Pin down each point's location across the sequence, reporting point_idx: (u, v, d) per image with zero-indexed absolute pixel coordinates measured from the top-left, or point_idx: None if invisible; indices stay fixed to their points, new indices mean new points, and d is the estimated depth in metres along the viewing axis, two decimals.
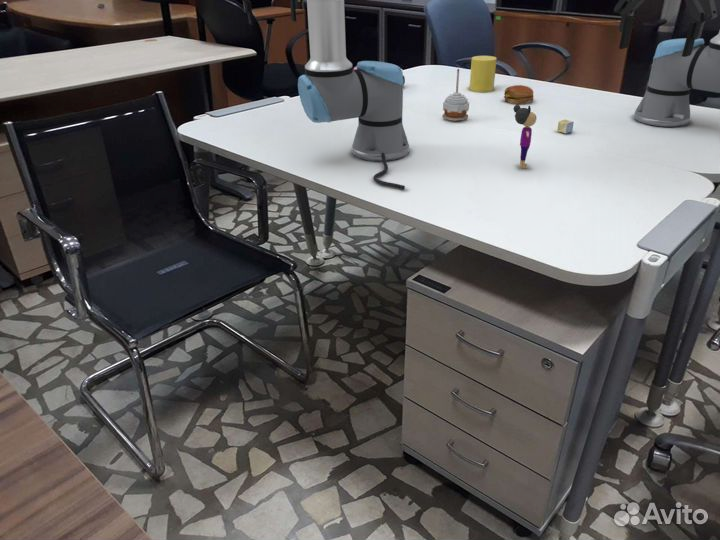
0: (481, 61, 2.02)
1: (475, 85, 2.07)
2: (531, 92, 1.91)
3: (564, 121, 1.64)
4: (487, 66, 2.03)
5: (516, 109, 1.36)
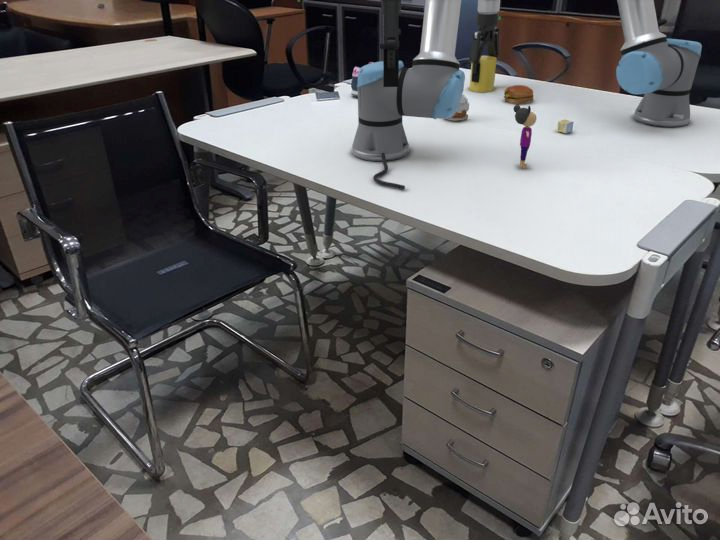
0: (481, 61, 2.02)
1: (475, 85, 2.07)
2: (531, 92, 1.91)
3: (564, 121, 1.64)
4: (487, 66, 2.03)
5: (516, 109, 1.36)
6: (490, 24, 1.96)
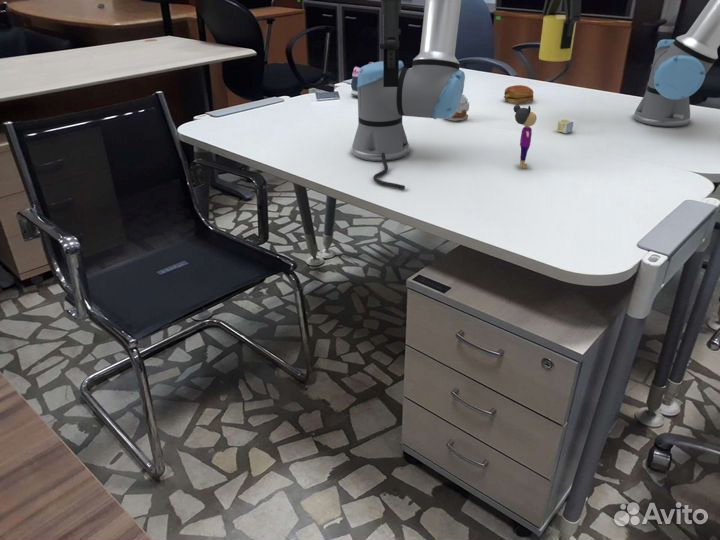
0: None
1: (563, 53, 1.60)
2: (531, 92, 1.91)
3: (564, 121, 1.64)
4: (575, 25, 1.58)
5: (516, 109, 1.36)
6: None
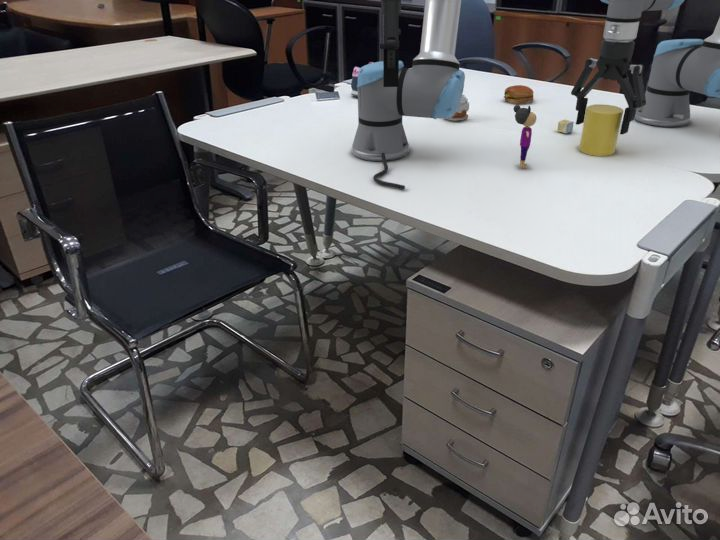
0: None
1: (614, 146, 1.48)
2: (531, 92, 1.91)
3: (564, 121, 1.64)
4: None
5: (516, 109, 1.36)
6: None
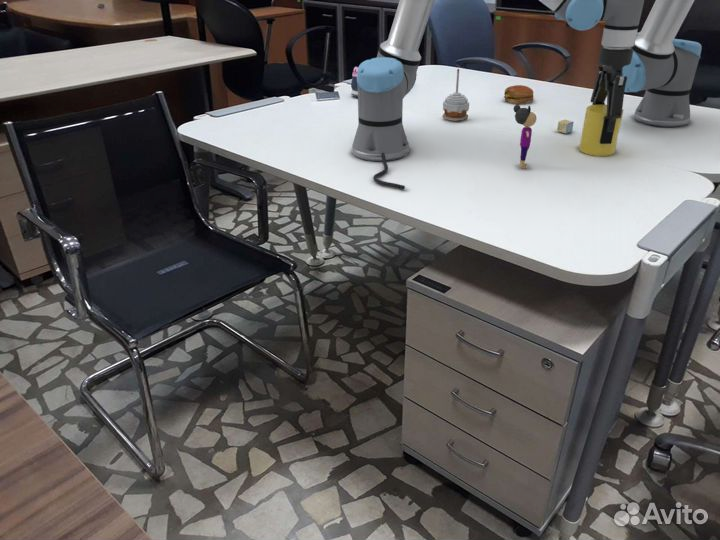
0: None
1: (614, 146, 1.48)
2: (531, 92, 1.91)
3: (564, 121, 1.64)
4: None
5: (516, 109, 1.36)
6: None
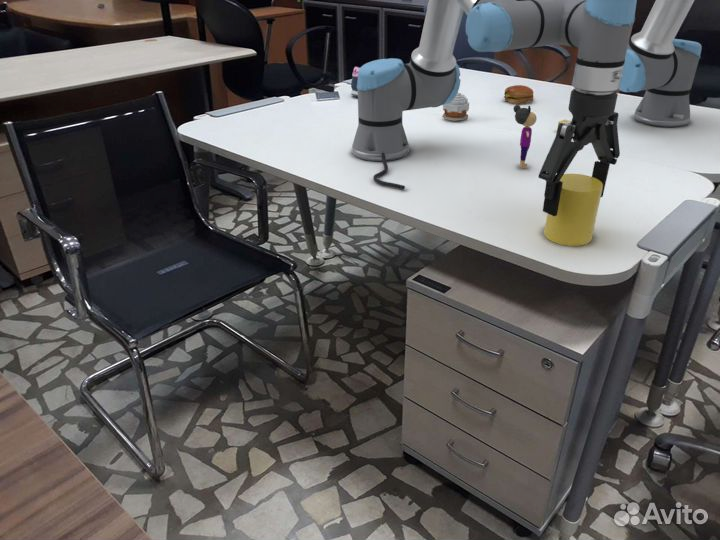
0: (589, 193, 1.02)
1: (572, 236, 1.06)
2: (531, 92, 1.91)
3: (564, 121, 1.64)
4: (596, 200, 1.04)
5: (516, 109, 1.36)
6: None
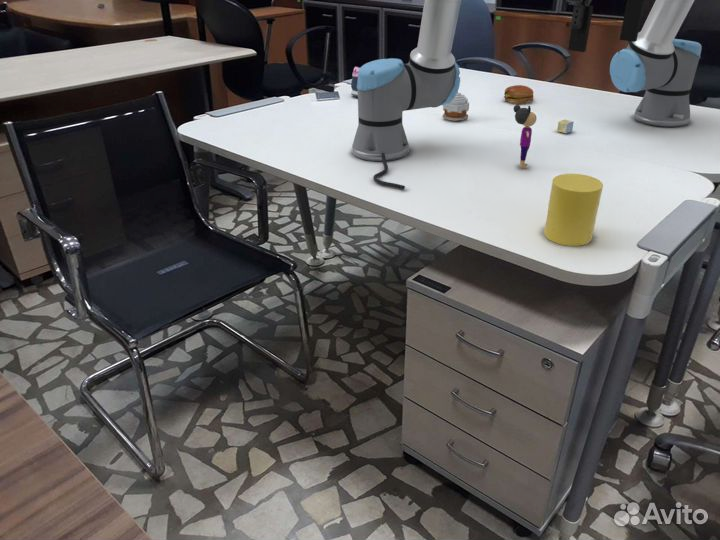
0: (589, 193, 1.02)
1: (572, 236, 1.06)
2: (531, 92, 1.91)
3: (564, 121, 1.64)
4: (596, 200, 1.04)
5: (516, 109, 1.36)
6: None
